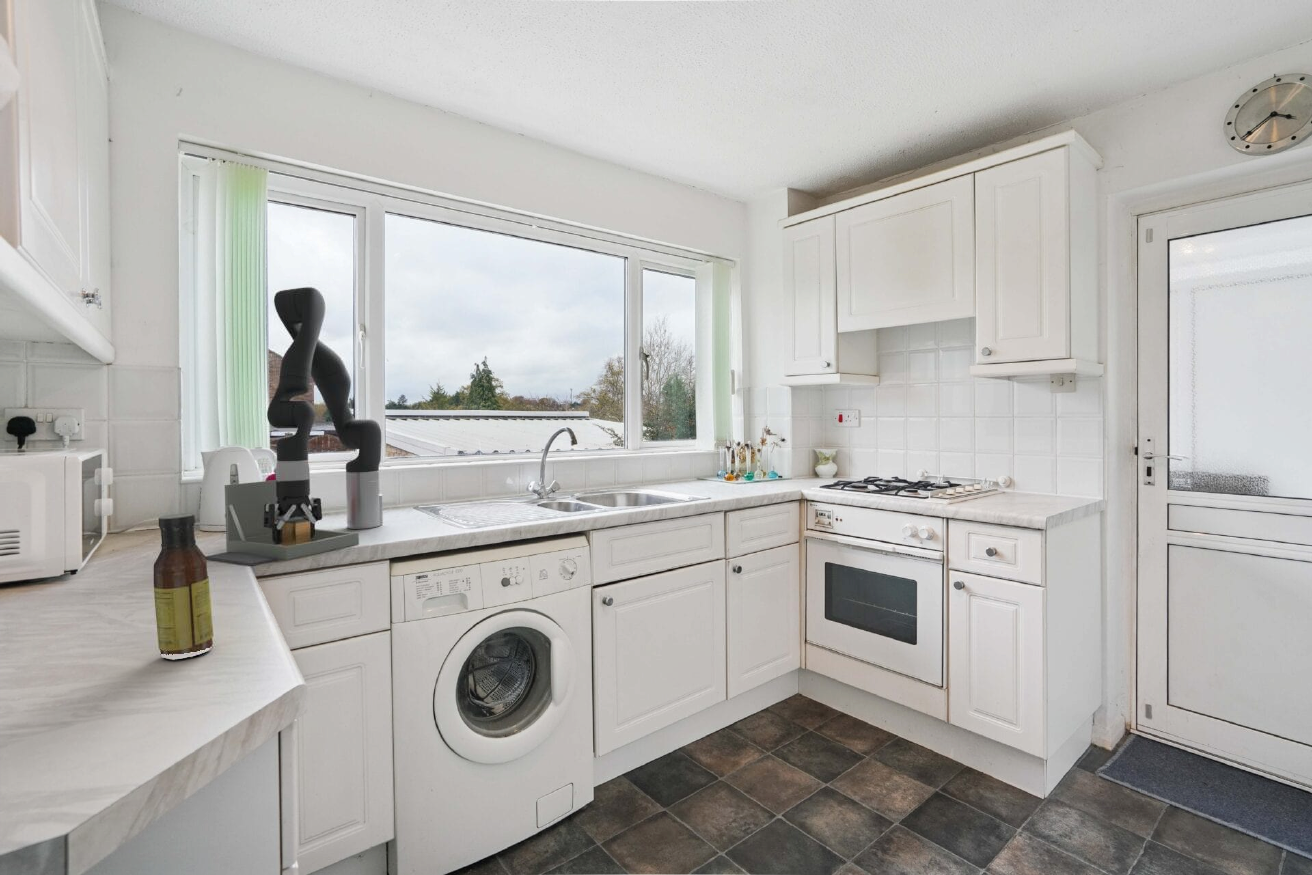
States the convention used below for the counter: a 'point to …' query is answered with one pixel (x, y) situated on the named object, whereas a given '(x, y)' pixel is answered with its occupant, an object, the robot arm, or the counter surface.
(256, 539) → the case
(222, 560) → the mat
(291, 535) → the block
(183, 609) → the sauce bottle
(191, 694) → the counter surface
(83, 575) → the counter surface
